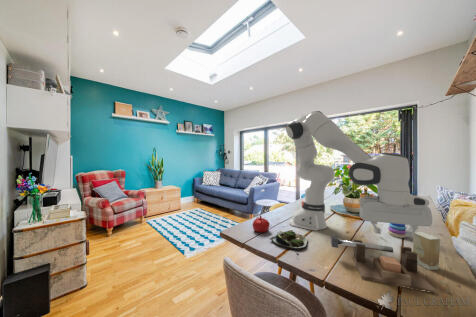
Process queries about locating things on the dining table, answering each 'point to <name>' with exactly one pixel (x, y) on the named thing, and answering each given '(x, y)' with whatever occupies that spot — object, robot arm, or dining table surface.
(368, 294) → the dining table surface
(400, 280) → the bearing bracket
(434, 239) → the skincare box
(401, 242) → the dining table surface
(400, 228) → the stacking toy
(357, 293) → the dining table surface
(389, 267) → the block
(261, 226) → the pomegranate
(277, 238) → the salad plate
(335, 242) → the shaft
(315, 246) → the dining table surface
